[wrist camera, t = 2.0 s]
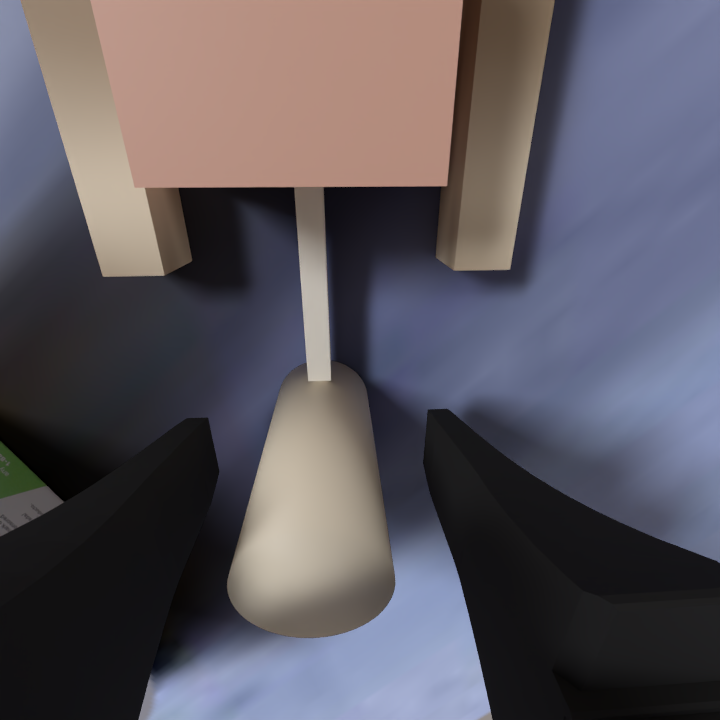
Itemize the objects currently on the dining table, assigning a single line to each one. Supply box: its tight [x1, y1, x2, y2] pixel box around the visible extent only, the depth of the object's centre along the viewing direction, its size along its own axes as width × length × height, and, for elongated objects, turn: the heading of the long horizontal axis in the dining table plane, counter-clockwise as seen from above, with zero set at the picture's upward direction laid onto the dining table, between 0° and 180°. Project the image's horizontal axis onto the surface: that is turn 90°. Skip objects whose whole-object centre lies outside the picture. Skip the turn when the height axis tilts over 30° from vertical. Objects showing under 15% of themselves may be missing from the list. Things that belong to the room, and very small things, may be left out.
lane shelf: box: [21, 0, 555, 277], centre depth 8 cm, size 10×10×2 cm
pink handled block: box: [90, 0, 463, 638], centre depth 8 cm, size 14×5×7 cm, turn 0°
